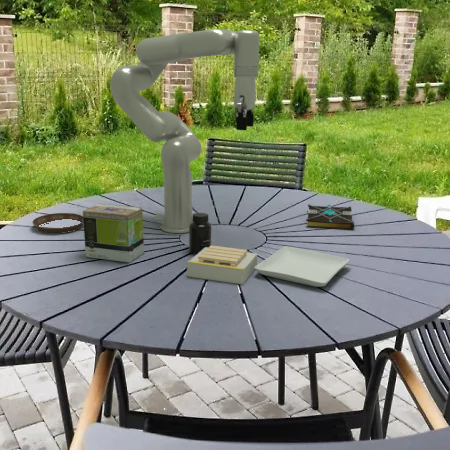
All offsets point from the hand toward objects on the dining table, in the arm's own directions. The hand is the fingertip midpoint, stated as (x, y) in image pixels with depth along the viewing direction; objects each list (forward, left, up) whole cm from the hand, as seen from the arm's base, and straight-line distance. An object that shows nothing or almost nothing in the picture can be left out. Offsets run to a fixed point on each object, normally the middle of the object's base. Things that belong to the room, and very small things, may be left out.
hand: (244, 128), depth 183 cm
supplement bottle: (-8, -19, -36) cm, 42 cm away
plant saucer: (-63, -13, -37) cm, 74 cm away
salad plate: (+26, -25, -37) cm, 51 cm away
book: (+24, +30, -37) cm, 53 cm away
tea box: (-31, -31, -36) cm, 57 cm away
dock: (+4, -32, -36) cm, 49 cm away
